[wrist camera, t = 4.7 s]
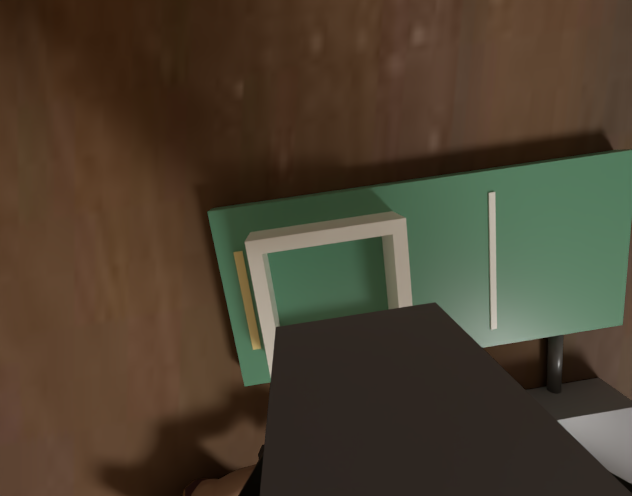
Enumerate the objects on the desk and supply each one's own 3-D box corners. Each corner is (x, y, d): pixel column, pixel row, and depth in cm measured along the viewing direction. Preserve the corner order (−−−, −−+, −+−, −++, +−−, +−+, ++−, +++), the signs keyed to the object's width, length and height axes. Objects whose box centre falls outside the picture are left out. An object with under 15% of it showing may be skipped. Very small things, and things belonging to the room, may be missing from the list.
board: (614, 150, 18) (683, 147, 15) (603, 315, 20) (660, 343, 17) (212, 208, 17) (195, 218, 14) (247, 372, 19) (239, 413, 16)
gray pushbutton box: (603, 309, 20) (655, 334, 17) (592, 473, 23) (635, 517, 20) (481, 329, 20) (513, 357, 17) (485, 492, 22) (513, 540, 20)
